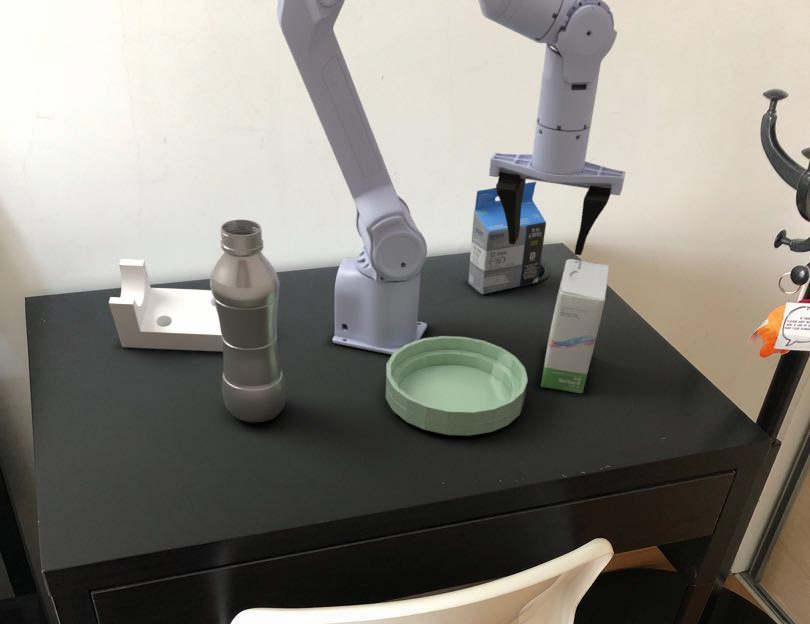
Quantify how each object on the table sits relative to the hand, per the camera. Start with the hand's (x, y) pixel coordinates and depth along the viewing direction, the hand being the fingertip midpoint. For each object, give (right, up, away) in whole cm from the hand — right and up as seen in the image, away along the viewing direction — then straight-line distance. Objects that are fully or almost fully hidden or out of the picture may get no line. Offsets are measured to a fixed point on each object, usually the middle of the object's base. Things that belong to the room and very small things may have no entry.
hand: (546, 246), depth 104 cm
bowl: (-11, -19, -5) cm, 22 cm away
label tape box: (-3, 0, +16) cm, 16 cm away
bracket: (-42, -10, +1) cm, 43 cm away
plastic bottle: (-32, -21, -9) cm, 39 cm away
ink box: (+2, -15, 0) cm, 15 cm away
